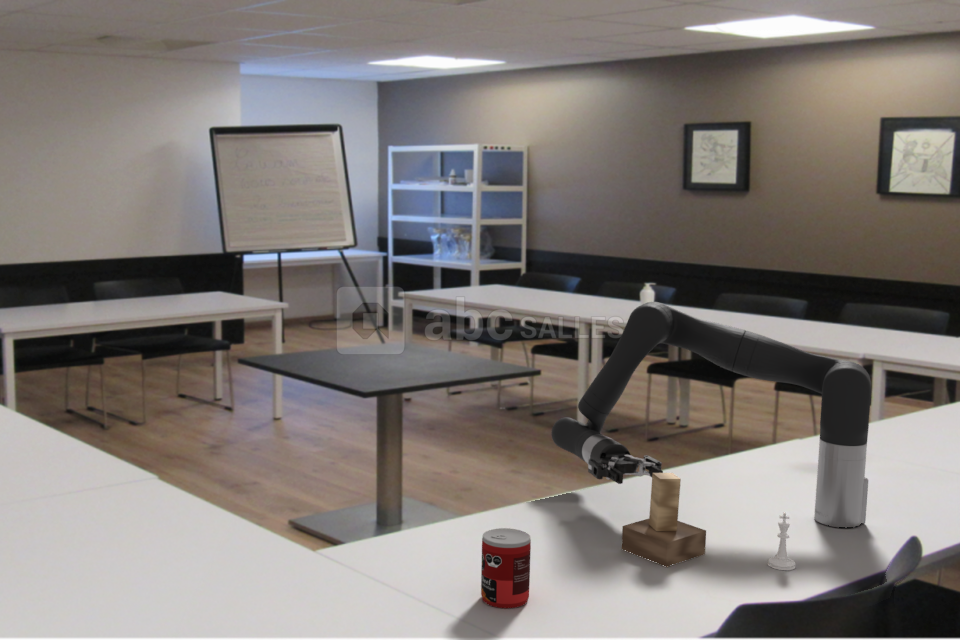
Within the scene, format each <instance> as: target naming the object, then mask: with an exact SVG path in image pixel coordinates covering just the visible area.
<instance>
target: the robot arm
mask: <svg viewBox="0 0 960 640" xmlns="http://www.w3.org/2000/svg"><path fill="white" fill-rule="evenodd" d="M659 344H663V345H664V344H665V345H669V346H674V347H677V348H680V349H684V350H687V351H688V350H689V351H691V352H692V353H695V354H696V355H698V356H700V357H702V358H704V359H706V360H707V361H708V362H711V363H713V364H714V365H716V366H719V368H722V369H724V370H727V371H730V372H733V373H736V374H739V375H741V376H744V377H748V378H752V379H756V380H762V381H767V382H768V381H769V382H776V383H785V384H792V385H797V386H800V387H804V388H805V389H809V390H811V391H814V392H816V393H819V394H821V406H820V423H819V443H818V445H819V446H818V458H817V459H818V460H817V470H816V471H817V473H816V474H817V475H816V484H815V485H816V489H815V491H816V492H815V499H814V501H815V503H814V515H813V516H814V517H813V518H814V520H815V521H816V522H818V523H819V524H822V525H825V526H828V525H829V526H828V527H834V528H839V527H845V528H844V529H848V528H847V527H853V528H856V527H855V526H858V525H860V524H861V523H864V524H866V519H867V518H866V517H867V505H868V492H869V479H868V478H867V477H866V462H867V447H868V436H869V427H870V426H869V425H870V414H871V413H870V411H871V401H872V399H871V398H872V381H871V380H872V379H871V376H870V374H869V373H868V371H867V369H865V367H863V366H862V365H860V364H858V363H856V362H854V361H849V360H845V359H839V358H835V357H834V358H833V357H830V356H829V357H828V356H824V355H819V354H815V353H811V352H809V351H808V352H807V351H805V350H802V349H799V348H797V347H795V346H792V345H790V344H787V343H785V342H782V341H779V340H776V339H773V338H770V337H768V336H765V335H762V334H759V333H757V332H752V331H749V330H745V329H742V328H739V327H735V326H731V325H727V324H723V323H719V322H713V321H709V320H704V319H702V318H699V317H695V316H693V315H690V314H688V313H686V312H683V311H680V310H678V309H676V308H673V307H672V306H669V305H666V304H665V303H662V302H658V301H649V302H645V303H643V304H640V305H639V306H637V307H636V308H634V309H633V310H632V312H631V313H630V315H629V317H628V320H627V322H626V324H625V327H624V329H623V331H622V334H621V336H620V338H619V340H618V342H617V344H616V346H615V347H614V348H613V351H612V353H611V355H610V357H609V358H608V359H607V361H606V362H605V363H604V366H603V367H602V368H601V370H599V372H598V373H597V375H596V377H595V378H594V379H593V380H592V382H591V383H590V385H589V386H588V388H587V390H586V391H585V393H584V394H582V397H581V398H580V400H579V401H578V405H577V408H578V411H579V412H580V413H581V415H583V417H585V418H586V419H587V420H588V421H587V423H586V424H585V423H584V422H581V421H579V420H576V419H575V418H572V417H567V416H564V417H561V418H559V419H558V420H557V421H555V422H554V424H553V426H552V428H551V433H550V435H551V439H552V442H553V443H554V444H555V445H556V447H558V448H560V449H563V450H564V451H567V452H569V453H571V454H573V455H575V456H577V457H578V459H580V460H582V461H583V462H584V463H586V464H587V468H588V469H587V472H588V473H589V474H590V475H592V476H593V477H594V478H596V479H597V480H602V479H604V478H606V480H609V481H612V482H615V483H616V484H618V485H621V484H623V482H624V475H626V476H630V475H632V476H638V477H643V476H649V478H652V473H664V471H663V470H662V465H663V462H662V461H660V460H658V459H656V458H654V457H652V456H650V455H647V454H645V455H643V458H641V457H636V456H633V455H631V452H630V451H629V449H628V448H627V447H626V446H625V445H623V444H622V443H620V442H618V441H616V440H615V439H613V438H611V437H609V436H607V435H604V434H602V429H604V428H603V427H604V425H605V422H606V419H607V417H608V416H609V415H610V413H611V411H612V410H613V409H614V407H615V406H616V404H617V403H618V401H619V399H620V398H621V396H622V395H623V393H624V391H625V389H626V387H628V384H629V382H630V380H631V378H632V377H633V374H634V373H635V371H636V369H637V368H638V367H639V365H640V364H641V363H642V362H643V360H644V359H645V358H646V357H647V356H648V355H649V354H650V352H651V351H653V350H654V348H655V347H657V345H659ZM637 470H638V471H637ZM861 525H862V524H861ZM861 525H860V526H861ZM858 527H859V526H858Z"/></svg>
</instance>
